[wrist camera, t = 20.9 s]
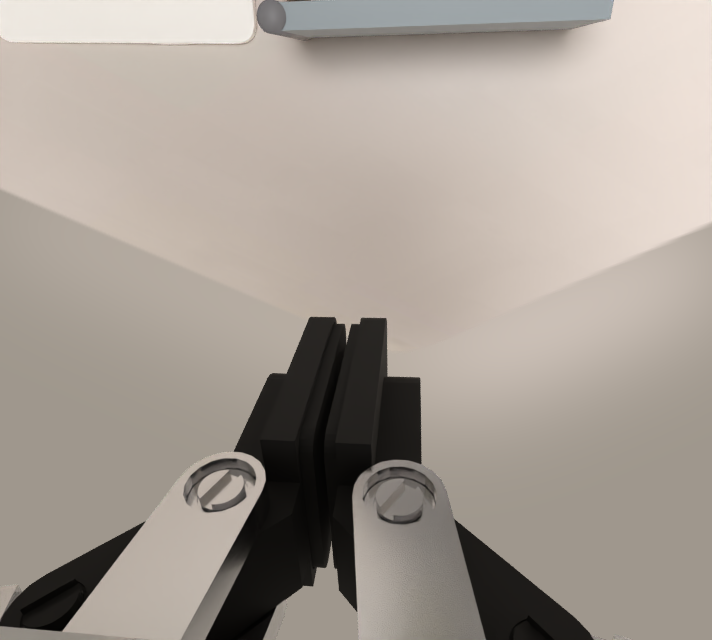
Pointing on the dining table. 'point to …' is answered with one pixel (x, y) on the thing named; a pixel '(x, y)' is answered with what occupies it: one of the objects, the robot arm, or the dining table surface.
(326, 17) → the bin gate
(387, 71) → the dining table surface
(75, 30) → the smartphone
